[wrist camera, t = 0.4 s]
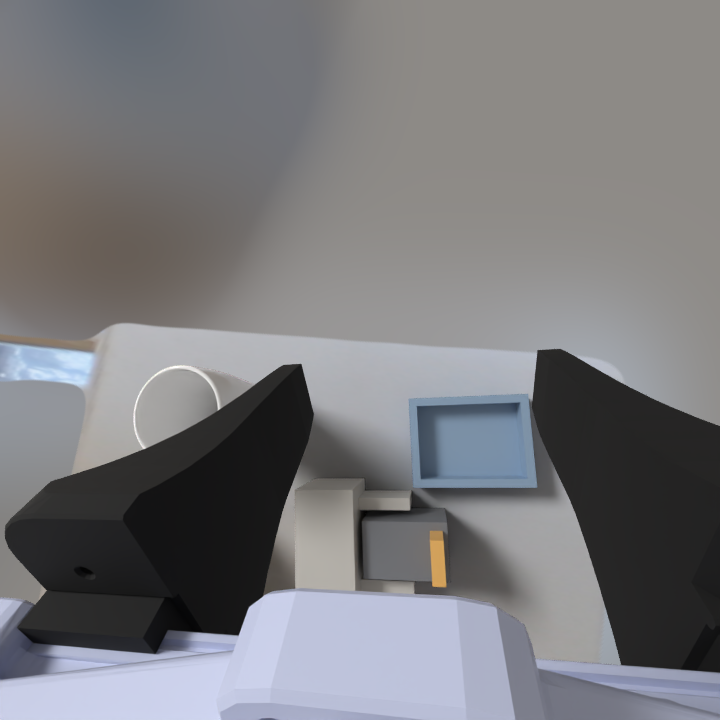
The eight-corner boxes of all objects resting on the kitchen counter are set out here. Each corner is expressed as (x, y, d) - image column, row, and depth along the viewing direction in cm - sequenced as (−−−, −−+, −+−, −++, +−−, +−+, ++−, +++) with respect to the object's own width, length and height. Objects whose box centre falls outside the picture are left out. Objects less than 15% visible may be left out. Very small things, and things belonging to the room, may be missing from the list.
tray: (529, 482, 35) (537, 487, 32) (414, 482, 36) (413, 487, 34) (521, 395, 36) (528, 394, 33) (410, 399, 38) (408, 398, 35)
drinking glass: (312, 406, 39) (242, 401, 25) (274, 460, 39) (181, 488, 24) (263, 370, 41) (170, 344, 26) (226, 422, 41) (113, 426, 26)
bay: (416, 590, 35) (413, 625, 29) (316, 586, 37) (295, 618, 31) (410, 478, 36) (407, 489, 31) (315, 478, 38) (294, 489, 32)
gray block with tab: (372, 556, 36) (358, 592, 29) (370, 507, 37) (356, 529, 30) (447, 559, 35) (452, 597, 28) (444, 508, 36) (448, 531, 28)
